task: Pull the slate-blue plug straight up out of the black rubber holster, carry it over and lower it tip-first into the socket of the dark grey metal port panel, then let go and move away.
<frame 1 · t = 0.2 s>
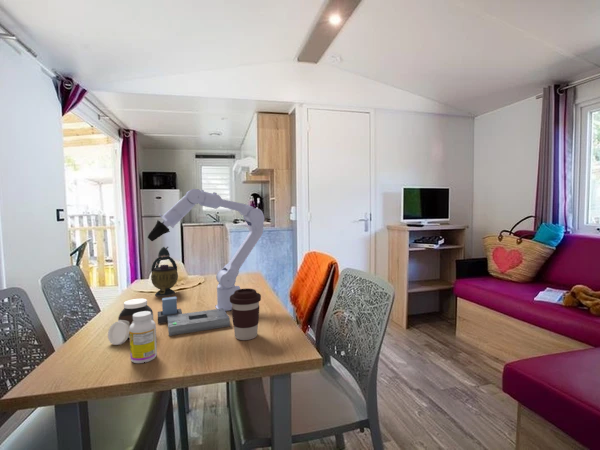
hand: (149, 238, 121), 30 cm above the table, tool tilted 45°, fingers open, 7 cm apart
port panel: (198, 325, 116), on the table
holster: (170, 319, 122), on the table
plug: (169, 308, 122), in the holster
spread jar: (131, 339, 105), on the table
supplement bottle: (143, 359, 91), on the table
coffee cup: (246, 336, 106), on the table
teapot: (164, 296, 154), on the table
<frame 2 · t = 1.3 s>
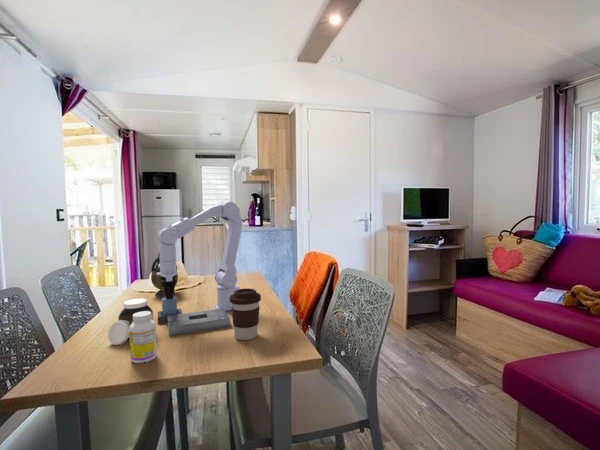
hand: (169, 296, 122), 9 cm above the table, tool pointing down, fingers open, 7 cm apart
nothing on the table moved.
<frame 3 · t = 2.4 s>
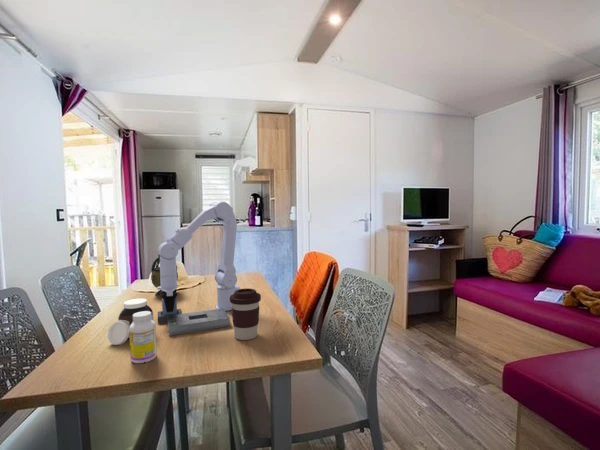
hand: (169, 310, 122), 3 cm above the table, tool pointing down, fingers closed on plug, 3 cm apart
plug: (169, 308, 122), in the holster, touching gripper
everything else where it was.
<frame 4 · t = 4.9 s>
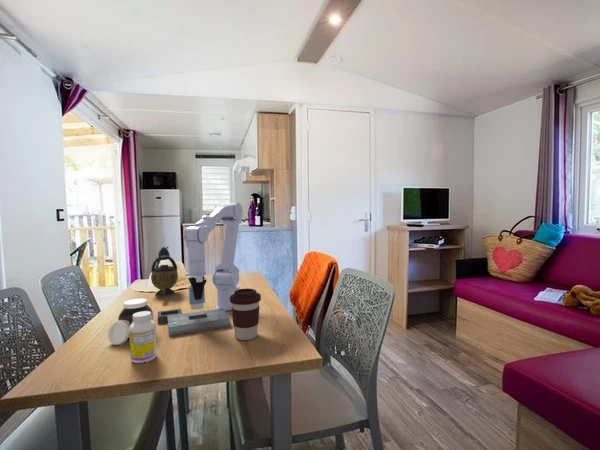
hand: (197, 298, 115), 10 cm above the table, tool pointing down, fingers closed on plug, 3 cm apart
plug: (196, 297, 115), point 10 cm above the table, touching gripper
everything else where it was.
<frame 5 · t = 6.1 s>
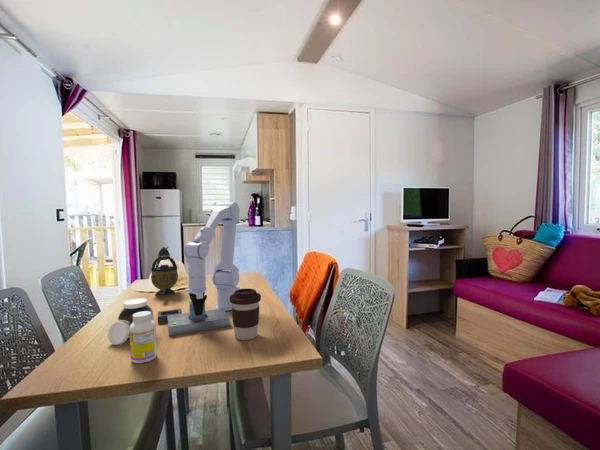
hand: (198, 313, 116), 4 cm above the table, tool pointing down, fingers closed on plug, 3 cm apart
plug: (197, 312, 115), in the port panel, point 5 cm above the table, touching gripper
everything else where it was.
when the fingers open (4 cm above the table, at t = 7.2 s): plug stays where it is, resting in port panel.
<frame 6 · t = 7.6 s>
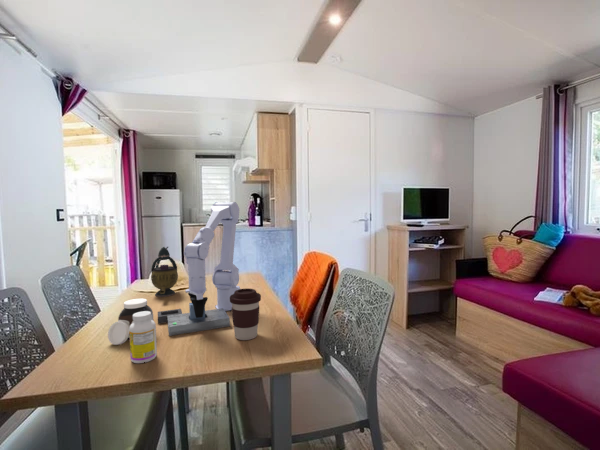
hand: (198, 314, 116), 4 cm above the table, tool pointing down, fingers open, 6 cm apart
plug: (197, 314, 115), in the port panel
everything else where it was.
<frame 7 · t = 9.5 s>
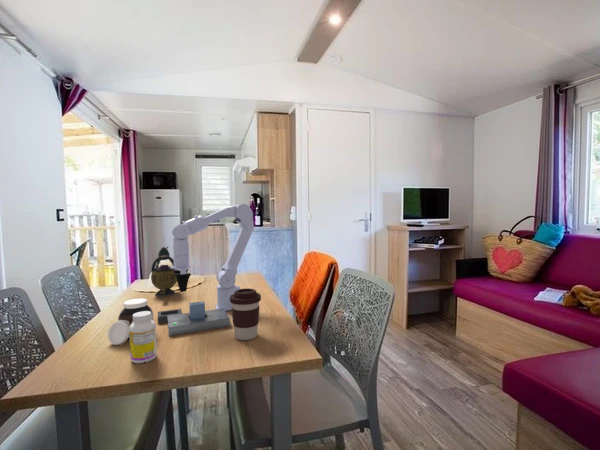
hand: (182, 289, 127), 10 cm above the table, tool pointing down, fingers open, 7 cm apart
nothing on the table moved.
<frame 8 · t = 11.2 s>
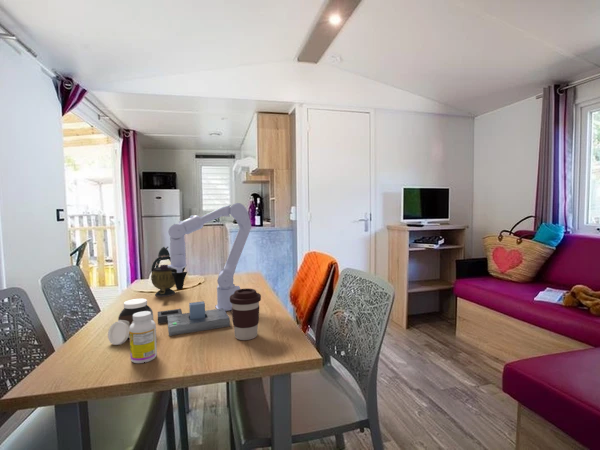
hand: (179, 287, 130), 10 cm above the table, tool pointing down, fingers open, 7 cm apart
nothing on the table moved.
at the end: plug 0.3 cm off-centre on the port panel, point 4.0 cm above the port panel's base; plug tilted 0°; the gripper is holding nothing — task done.
